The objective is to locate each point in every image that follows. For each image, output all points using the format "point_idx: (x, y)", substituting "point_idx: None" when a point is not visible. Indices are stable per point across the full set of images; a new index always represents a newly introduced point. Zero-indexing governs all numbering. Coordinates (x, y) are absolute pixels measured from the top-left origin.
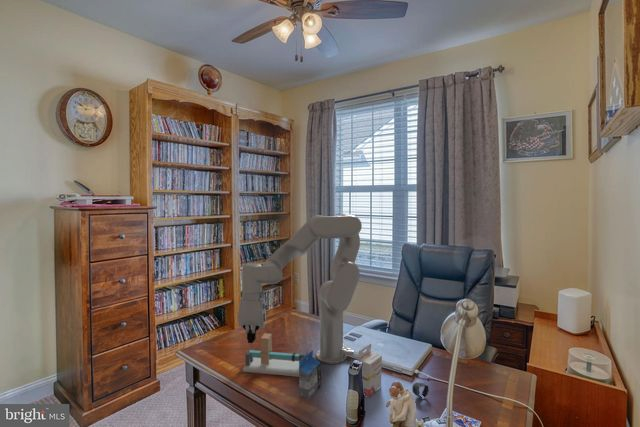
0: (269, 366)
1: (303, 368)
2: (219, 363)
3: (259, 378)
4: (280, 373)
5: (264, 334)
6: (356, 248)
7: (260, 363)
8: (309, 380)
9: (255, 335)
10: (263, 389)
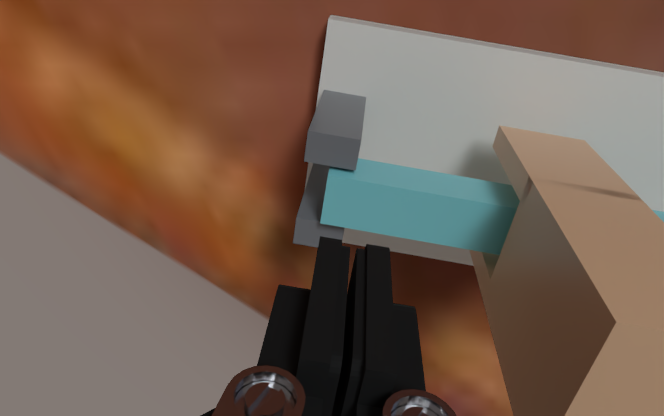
0: None
1: None
2: (42, 90)
3: (455, 311)
4: None
5: (612, 371)
6: None
7: (450, 153)
8: None
9: (417, 361)
10: (492, 412)
